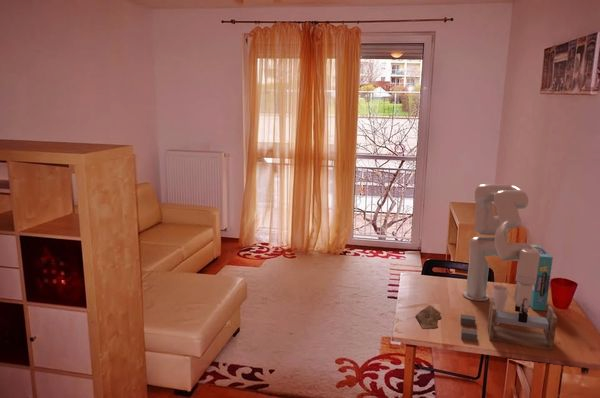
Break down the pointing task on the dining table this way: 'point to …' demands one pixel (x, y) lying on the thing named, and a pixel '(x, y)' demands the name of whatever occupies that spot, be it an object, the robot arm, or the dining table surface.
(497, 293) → the drinking glass
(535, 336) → the shelf unit
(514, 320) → the shelf board
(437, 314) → the wooden fragment
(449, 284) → the dining table surface
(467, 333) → the support blocks
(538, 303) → the game box
